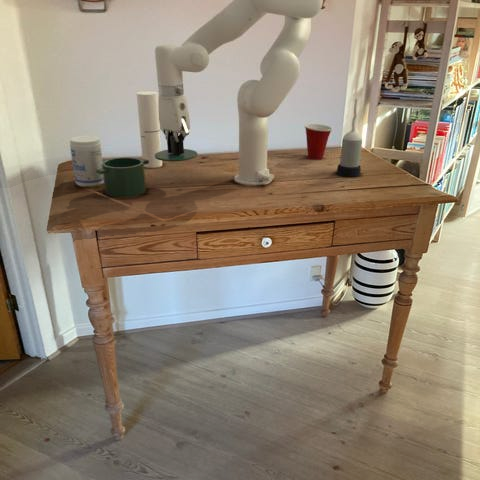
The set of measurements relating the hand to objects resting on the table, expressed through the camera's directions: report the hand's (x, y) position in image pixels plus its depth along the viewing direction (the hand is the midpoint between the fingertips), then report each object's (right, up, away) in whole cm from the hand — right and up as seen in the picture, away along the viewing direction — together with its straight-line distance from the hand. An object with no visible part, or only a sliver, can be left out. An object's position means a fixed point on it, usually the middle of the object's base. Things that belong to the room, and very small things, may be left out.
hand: (176, 152), depth 167 cm
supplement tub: (-30, -8, +8) cm, 32 cm away
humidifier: (+59, -1, +20) cm, 63 cm away
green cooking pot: (-16, -13, +1) cm, 20 cm away
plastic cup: (+51, +11, +40) cm, 65 cm away
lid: (0, -1, +1) cm, 1 cm away
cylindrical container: (-12, +4, +29) cm, 31 cm away
